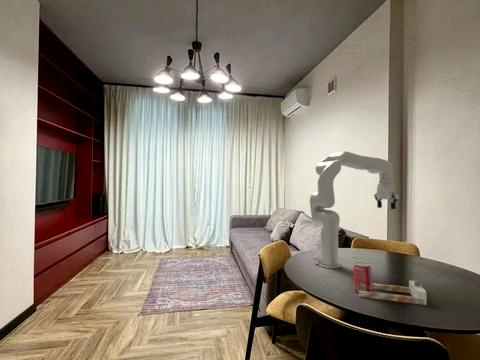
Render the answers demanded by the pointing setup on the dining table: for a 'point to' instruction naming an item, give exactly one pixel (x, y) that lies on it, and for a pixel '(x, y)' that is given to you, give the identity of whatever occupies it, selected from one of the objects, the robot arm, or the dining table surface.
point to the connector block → (417, 291)
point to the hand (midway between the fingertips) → (386, 208)
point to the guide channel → (390, 296)
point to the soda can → (362, 277)
